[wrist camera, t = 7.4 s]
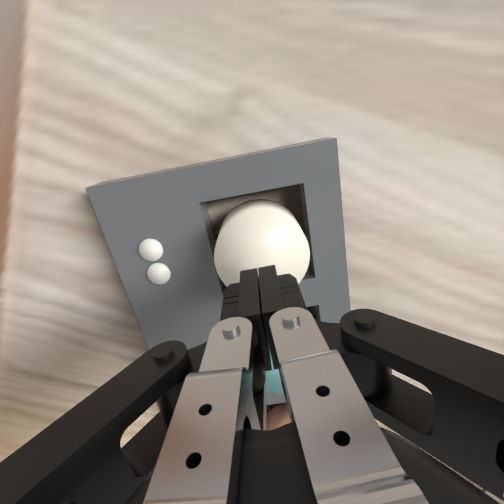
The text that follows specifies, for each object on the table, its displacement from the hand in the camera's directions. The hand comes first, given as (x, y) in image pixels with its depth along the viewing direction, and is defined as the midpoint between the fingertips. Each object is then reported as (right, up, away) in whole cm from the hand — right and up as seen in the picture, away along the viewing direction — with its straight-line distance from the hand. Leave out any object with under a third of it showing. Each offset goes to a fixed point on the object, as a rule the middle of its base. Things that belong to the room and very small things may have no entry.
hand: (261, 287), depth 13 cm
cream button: (0, +2, +6) cm, 6 cm away
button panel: (0, -5, +10) cm, 11 cm away
